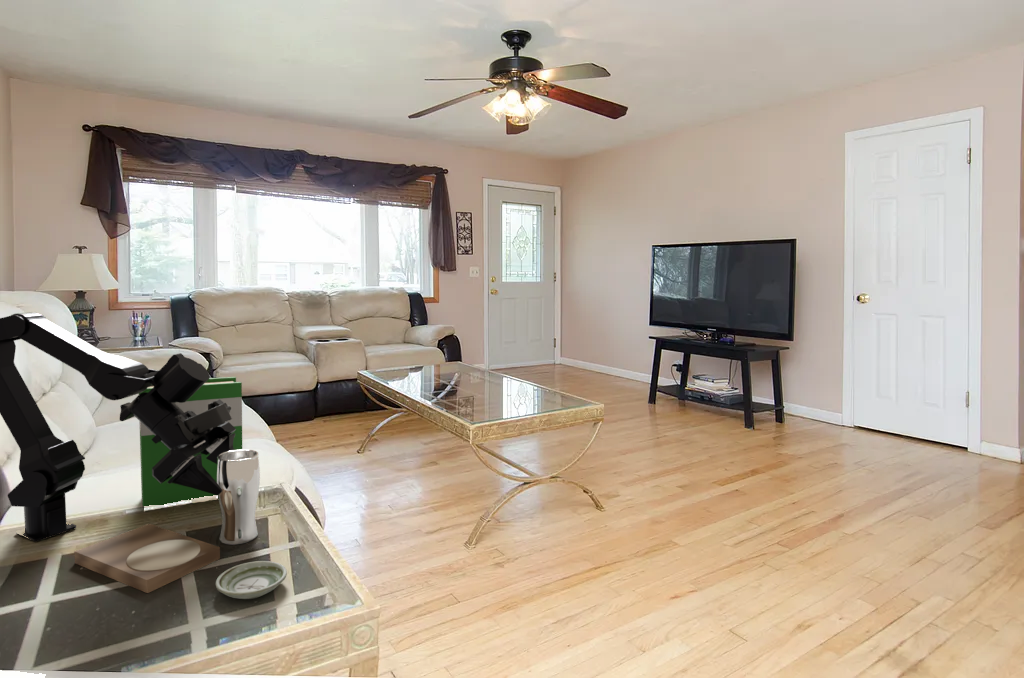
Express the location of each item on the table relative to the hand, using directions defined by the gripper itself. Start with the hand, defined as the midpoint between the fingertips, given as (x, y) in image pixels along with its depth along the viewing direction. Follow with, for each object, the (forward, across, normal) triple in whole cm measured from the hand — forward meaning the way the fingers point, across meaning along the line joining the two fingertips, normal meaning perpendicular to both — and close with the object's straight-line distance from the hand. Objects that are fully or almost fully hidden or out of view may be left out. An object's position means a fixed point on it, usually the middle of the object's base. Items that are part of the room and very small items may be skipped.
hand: (232, 483), depth 103 cm
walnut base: (0, -9, +14) cm, 16 cm away
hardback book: (-4, +18, +18) cm, 26 cm away
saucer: (+14, -17, 0) cm, 22 cm away
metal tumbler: (+8, 0, +6) cm, 10 cm away
